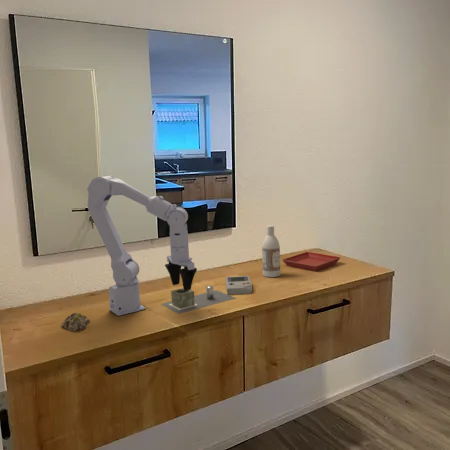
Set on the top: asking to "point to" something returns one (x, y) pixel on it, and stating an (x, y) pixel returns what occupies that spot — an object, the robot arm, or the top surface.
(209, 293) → the peg
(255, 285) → the top surface
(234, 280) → the handheld gaming device
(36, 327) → the top surface
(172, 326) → the top surface
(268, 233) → the bath foam
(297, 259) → the plant saucer
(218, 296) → the board
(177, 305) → the sleeve
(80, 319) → the mineral rock
